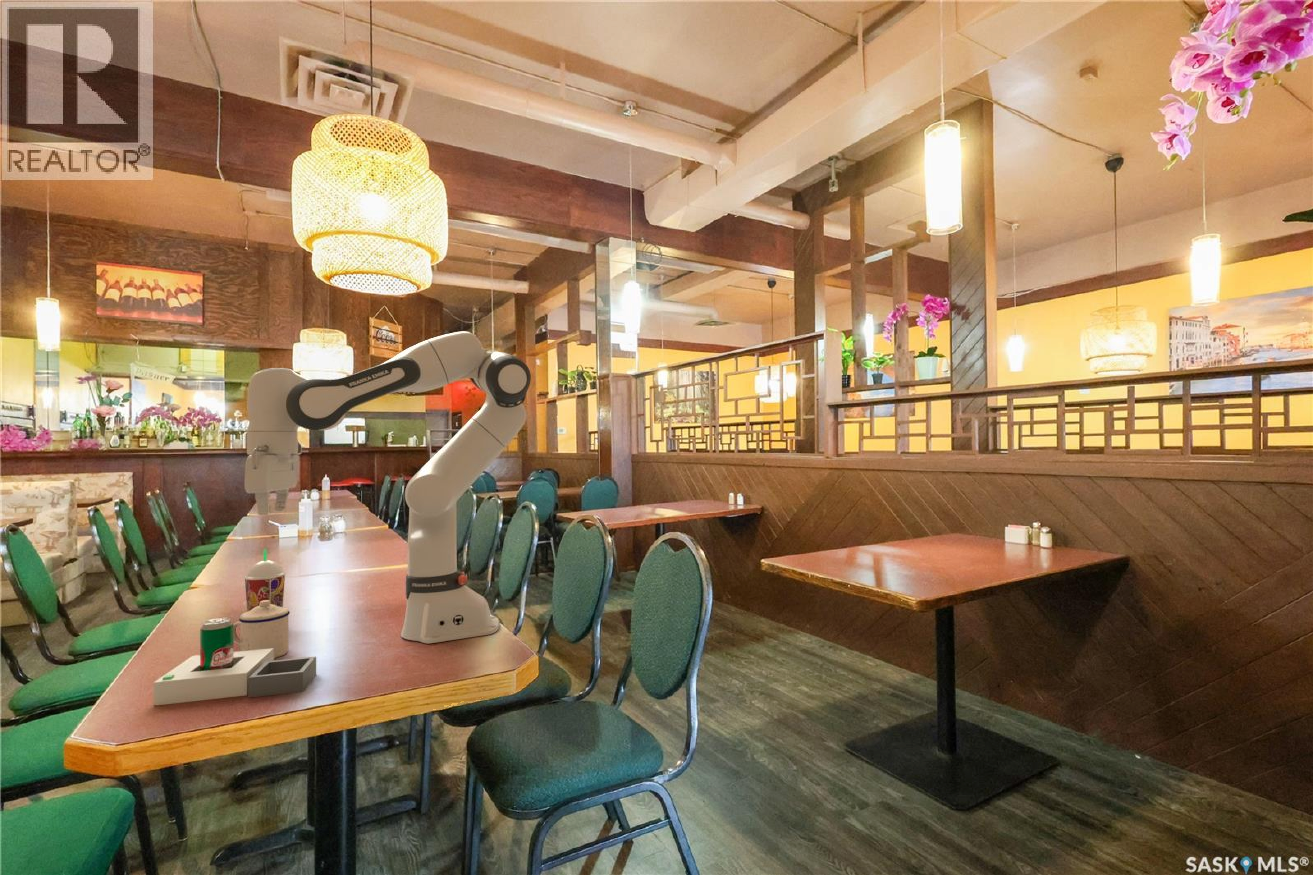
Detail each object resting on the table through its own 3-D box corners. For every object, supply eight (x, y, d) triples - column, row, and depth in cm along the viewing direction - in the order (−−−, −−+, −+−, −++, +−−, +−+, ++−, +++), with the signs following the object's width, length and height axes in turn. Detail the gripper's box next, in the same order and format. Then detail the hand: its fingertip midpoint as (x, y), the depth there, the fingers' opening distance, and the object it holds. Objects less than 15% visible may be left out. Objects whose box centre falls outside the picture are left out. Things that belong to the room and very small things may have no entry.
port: (273, 668, 120) (273, 646, 120) (246, 695, 106) (246, 670, 106) (192, 676, 116) (192, 653, 116) (153, 705, 102) (153, 680, 103)
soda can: (213, 691, 108) (213, 625, 108) (193, 689, 110) (193, 623, 110) (240, 681, 113) (240, 618, 113) (220, 678, 114) (220, 616, 115)
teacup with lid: (298, 648, 132) (298, 595, 132) (271, 662, 123) (271, 606, 123) (246, 648, 132) (246, 596, 133) (214, 663, 123) (214, 606, 124)
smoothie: (291, 628, 147) (291, 547, 147) (254, 638, 140) (254, 553, 140) (275, 624, 151) (274, 545, 152) (238, 632, 144) (238, 550, 145)
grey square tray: (316, 674, 116) (316, 656, 116) (302, 691, 108) (302, 672, 108) (265, 679, 114) (265, 661, 114) (248, 697, 105) (248, 677, 105)
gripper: (272, 445, 114) (272, 517, 114) (304, 446, 134) (304, 507, 134) (234, 445, 112) (234, 518, 112) (272, 446, 132) (272, 509, 132)
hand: (272, 512), depth 123 cm, fingers open, 8 cm apart
